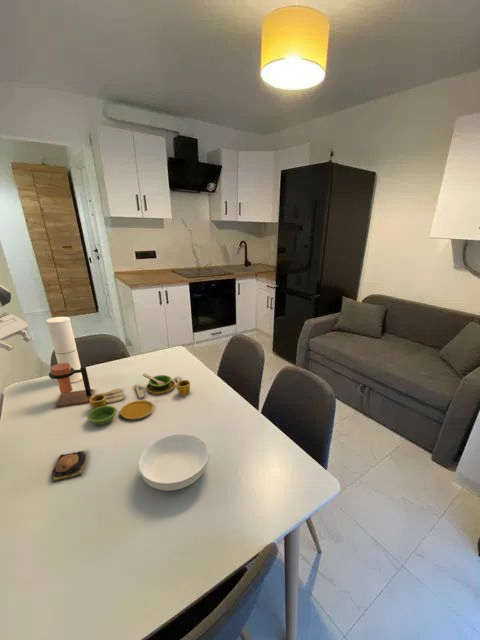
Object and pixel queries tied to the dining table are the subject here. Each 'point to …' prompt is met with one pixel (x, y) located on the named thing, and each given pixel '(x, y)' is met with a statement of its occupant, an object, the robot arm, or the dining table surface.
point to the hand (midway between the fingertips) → (21, 344)
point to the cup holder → (75, 396)
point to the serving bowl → (173, 461)
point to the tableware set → (136, 408)
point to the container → (64, 344)
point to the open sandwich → (69, 465)
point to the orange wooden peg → (59, 371)
